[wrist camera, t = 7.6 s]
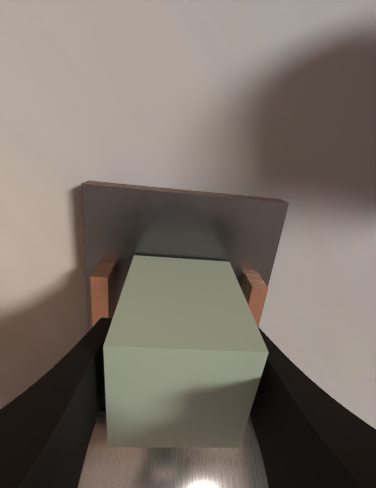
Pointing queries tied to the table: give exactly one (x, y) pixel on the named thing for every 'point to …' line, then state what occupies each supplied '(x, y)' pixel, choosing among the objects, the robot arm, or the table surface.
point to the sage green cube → (181, 356)
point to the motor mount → (186, 247)
